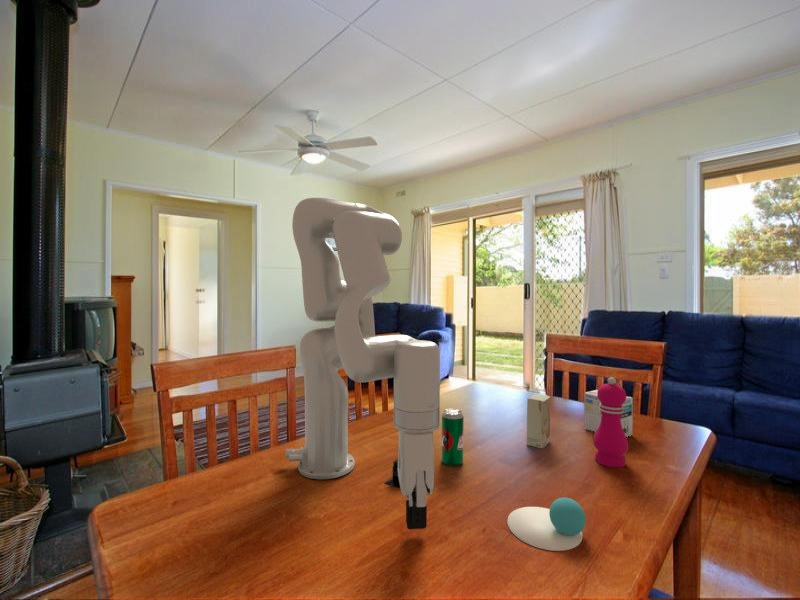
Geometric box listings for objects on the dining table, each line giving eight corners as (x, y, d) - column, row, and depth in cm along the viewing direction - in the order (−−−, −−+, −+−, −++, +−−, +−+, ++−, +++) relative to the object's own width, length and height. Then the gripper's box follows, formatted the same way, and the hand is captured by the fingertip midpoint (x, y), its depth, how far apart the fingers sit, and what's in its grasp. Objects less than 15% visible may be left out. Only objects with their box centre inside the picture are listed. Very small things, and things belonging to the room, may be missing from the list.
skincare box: (542, 449, 100) (543, 401, 100) (525, 445, 103) (526, 398, 102) (550, 441, 105) (551, 395, 105) (534, 437, 108) (534, 393, 107)
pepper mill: (631, 461, 93) (633, 377, 93) (623, 472, 88) (625, 382, 87) (598, 452, 98) (600, 372, 97) (588, 462, 93) (590, 377, 92)
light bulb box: (633, 435, 109) (634, 397, 109) (620, 441, 106) (621, 401, 105) (595, 424, 118) (596, 388, 118) (582, 429, 115) (583, 392, 114)
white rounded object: (524, 553, 61) (524, 551, 61) (497, 509, 73) (497, 508, 73) (597, 548, 62) (597, 547, 62) (560, 506, 74) (560, 505, 74)
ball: (597, 518, 63) (582, 549, 63) (582, 500, 69) (568, 528, 69) (565, 502, 63) (550, 533, 64) (553, 485, 69) (539, 514, 69)
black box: (403, 499, 78) (403, 476, 78) (372, 489, 81) (372, 467, 81) (430, 472, 89) (430, 452, 89) (401, 465, 92) (401, 446, 92)
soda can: (462, 468, 90) (463, 415, 89) (440, 466, 91) (440, 414, 90) (463, 458, 95) (464, 408, 94) (442, 456, 96) (442, 407, 95)
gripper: (390, 403, 72) (390, 502, 73) (397, 434, 57) (397, 558, 58) (431, 402, 73) (430, 500, 73) (449, 432, 58) (448, 555, 59)
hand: (416, 525), depth 66 cm, fingers closed
